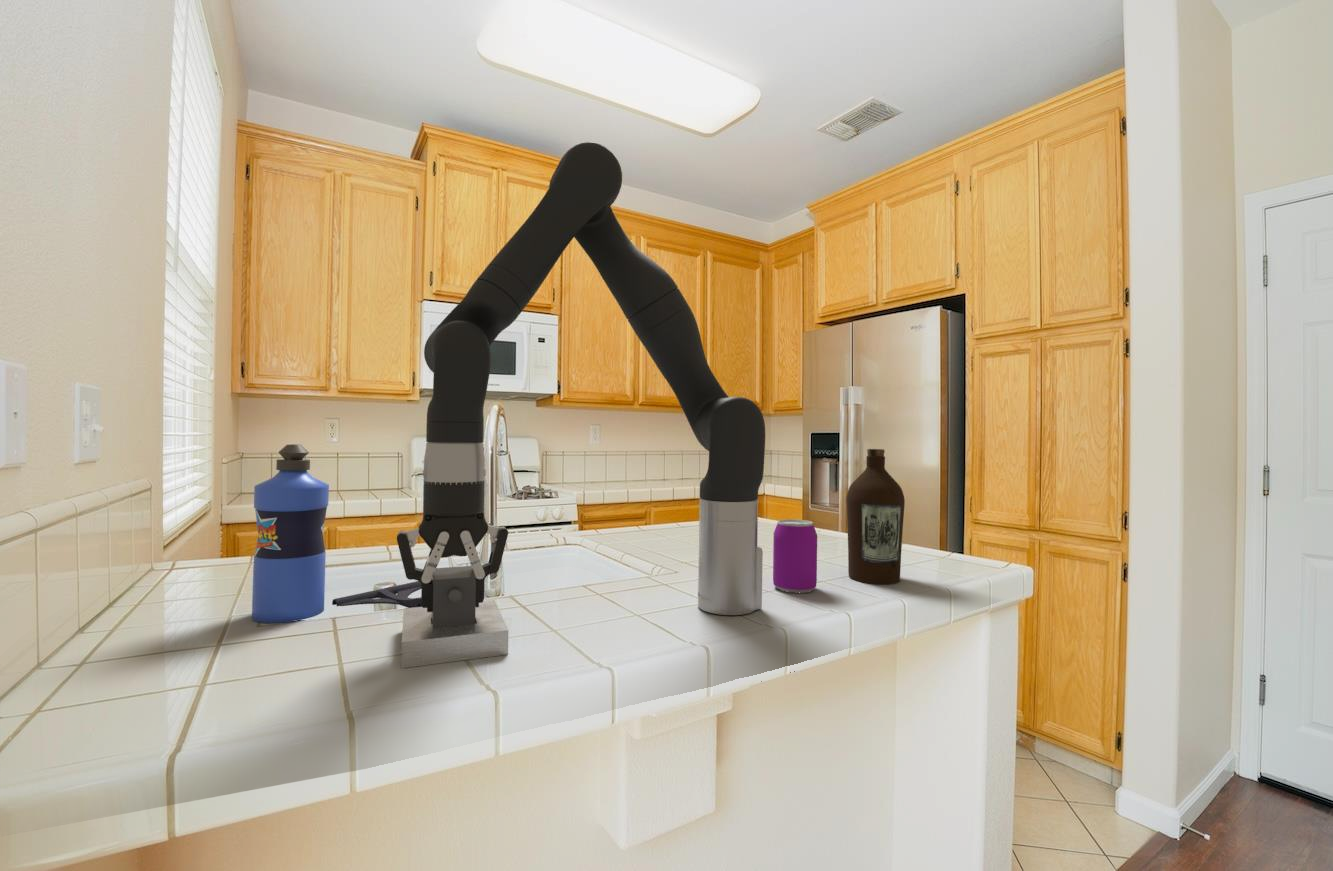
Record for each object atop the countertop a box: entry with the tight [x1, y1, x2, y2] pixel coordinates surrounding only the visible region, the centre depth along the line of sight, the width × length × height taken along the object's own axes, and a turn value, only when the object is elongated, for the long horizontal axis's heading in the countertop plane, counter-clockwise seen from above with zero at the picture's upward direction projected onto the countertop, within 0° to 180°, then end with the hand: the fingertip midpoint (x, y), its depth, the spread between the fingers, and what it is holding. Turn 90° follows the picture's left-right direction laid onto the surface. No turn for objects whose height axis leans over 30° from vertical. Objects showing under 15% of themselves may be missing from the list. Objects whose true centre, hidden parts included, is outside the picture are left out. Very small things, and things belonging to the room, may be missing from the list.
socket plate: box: [400, 599, 509, 669], centre depth 77 cm, size 12×14×3 cm
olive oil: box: [845, 448, 906, 585], centre depth 114 cm, size 11×11×25 cm
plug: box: [432, 565, 476, 628], centre depth 76 cm, size 5×8×8 cm, turn 23°
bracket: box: [331, 580, 422, 608], centre depth 94 cm, size 14×15×3 cm
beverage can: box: [772, 518, 818, 594], centre depth 106 cm, size 8×8×12 cm
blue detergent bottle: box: [251, 444, 330, 624], centre depth 88 cm, size 9×9×25 cm
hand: (452, 607), depth 77 cm, fingers closed on plug, 5 cm apart
